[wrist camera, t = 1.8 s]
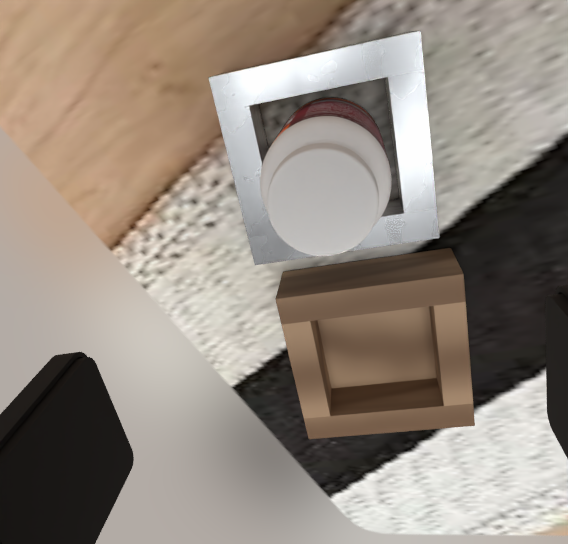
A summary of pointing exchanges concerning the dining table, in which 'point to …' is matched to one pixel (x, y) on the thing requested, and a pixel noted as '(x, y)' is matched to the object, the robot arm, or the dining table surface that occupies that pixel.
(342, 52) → the socket block
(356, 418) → the tray
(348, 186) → the pill bottle
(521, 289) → the dining table surface
